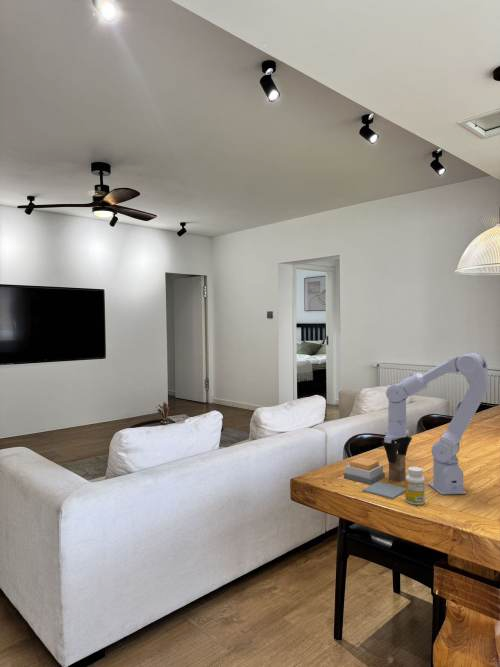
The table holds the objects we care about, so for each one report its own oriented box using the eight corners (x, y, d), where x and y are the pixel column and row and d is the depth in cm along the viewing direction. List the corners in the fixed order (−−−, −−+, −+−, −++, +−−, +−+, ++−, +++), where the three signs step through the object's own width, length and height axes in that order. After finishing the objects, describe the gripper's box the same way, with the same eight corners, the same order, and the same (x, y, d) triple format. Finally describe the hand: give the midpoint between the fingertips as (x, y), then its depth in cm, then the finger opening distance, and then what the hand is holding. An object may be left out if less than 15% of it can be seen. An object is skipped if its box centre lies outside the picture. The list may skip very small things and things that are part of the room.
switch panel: (384, 476, 159) (384, 465, 159) (370, 484, 151) (370, 472, 151) (358, 470, 166) (358, 459, 166) (343, 477, 158) (343, 466, 158)
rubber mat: (407, 490, 146) (407, 488, 146) (393, 499, 139) (393, 497, 139) (377, 482, 153) (377, 481, 153) (362, 491, 146) (362, 489, 146)
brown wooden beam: (405, 478, 157) (405, 455, 157) (400, 481, 154) (400, 457, 154) (394, 476, 160) (394, 453, 160) (388, 479, 157) (388, 455, 157)
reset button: (378, 466, 159) (378, 461, 159) (368, 471, 154) (368, 465, 153) (360, 462, 163) (360, 457, 163) (349, 467, 158) (349, 461, 158)
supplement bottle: (409, 496, 141) (409, 464, 141) (427, 501, 137) (427, 468, 137) (402, 502, 137) (402, 469, 136) (421, 506, 133) (421, 472, 133)
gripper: (395, 415, 165) (395, 453, 165) (375, 421, 154) (375, 462, 154) (415, 417, 160) (414, 457, 160) (396, 424, 149) (396, 467, 149)
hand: (396, 460), depth 157 cm, fingers open, 7 cm apart
